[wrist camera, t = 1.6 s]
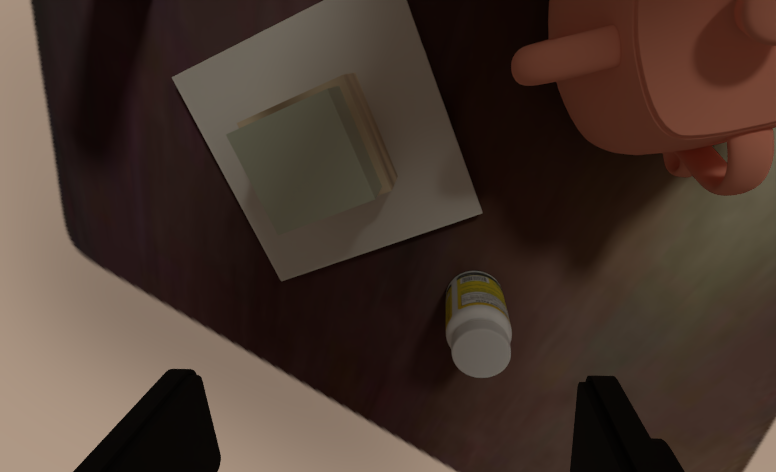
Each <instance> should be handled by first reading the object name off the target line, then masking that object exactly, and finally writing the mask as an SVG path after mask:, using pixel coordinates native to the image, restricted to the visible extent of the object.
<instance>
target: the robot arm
mask: <svg viewBox="0 0 776 472" xmlns="http://www.w3.org/2000/svg"><path fill="white" fill-rule="evenodd" d="M220 461H221V455H220V451H219V447H218V443H217V438H216V434H215V430H214V426H213V422H212V418H211V414H210V410H209V406H208V402H207V398H206V394H205V390H204V385H203V381H202V378H201V377H200V376H199V375H196V372H195V371H194V370H191V369H170V370H168V371H167V372H166V373H165V374H164V375H163V376H162V377H161V378H160V379H159V380H158V381H157V382H156V383H155V384H154V386H153V387H152V388H151V389H150V390H149V391H148V392H147V393H146V394H145V395H144V396H143V397H142V398H141V400H139V402H138V403H137V404H136V405H135V406H134V407H133V408H132V409H131V410H130V411H129V412H128V413H127V414H126V416H125V417H124V418H123V419H122V420H121V421H120V422H119V423H118V424H117V425H116V426H115V427H114V428H113V429H112V431H111V432H110V433H109V434H108V435H107V436H106V437H105V438H104V439H103V440H102V441H101V442H100V444H99V445H98V446H97V447H96V448H95V449H94V450H93V451H92V452H91V453H90V454H89V455H88V456H87V457H86V459H85V460H84V461H83V462H82V463H81V464H80V465H79V466H78V467H77V468H76V469H75V470H74V471H73V472H217V471H218V469H219V466H220ZM570 472H684V470H683V468H682V467H681V465H680V463H679V462H678V460H677V458H676V457H675V455H674V453H673V452H672V450H671V449H670V447H669V446H668V444H667V443H666V442H665V441H664V440H662V439H651V438H650V436H649V434H648V433H647V431H646V429H645V427H644V426H643V424H642V422H641V420H640V419H639V417H638V415H637V413H636V412H635V410H634V408H633V406H632V405H631V403H630V401H629V399H628V398H627V396H626V394H625V392H624V391H623V389H622V387H621V385H620V384H619V382H618V380H617V379H616V377H614V376H587V379H586V382H579V384H578V389H577V400H576V412H575V423H574V434H573V445H572V456H571V467H570Z"/></svg>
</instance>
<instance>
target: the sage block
mask: <svg viewBox="0 0 776 472" xmlns="http://www.w3.org/2000/svg"><path fill="white" fill-rule="evenodd" d="M226 136H227V138H228V140H229V142H230V144H231V146H232V148H233V150H234V152H235V153H236V155H237V157H238V159H239V161H240V163H241V165H242V167H243V169H244V171H245V173H246V175H247V177H248V178H249V180H250V182H251V184H252V186H253V188H254V190H255V192H256V194H257V196H258V198H259V200H260V202H261V203H262V205H263V207H264V209H265V211H266V213H267V215H268V217H269V219H270V221H271V223H272V225H273V227H274V228H275V230H276V232H277V234H278V235H281V234H283V233H286V232H289V231H292V230H294V229H297V228H300V227H302V226H305V225H308V224H311V223H313V222H316V221H319V220H321V219H324V218H327V217H329V216H332V215H335V214H338V213H340V212H343V211H346V210H348V209H351V208H354V207H357V206H359V205H362V204H365V203H367V202H370V201H373V200H375V199H376V197H377V196H378V194H379V192H380V190H381V188H382V185H381V183H380V180H379V178H378V176H377V173H376V171H375V169H374V166H373V164H372V162H371V159H370V157H369V154H368V152H367V150H366V147H365V145H364V143H363V140H362V138H361V136H360V133H359V131H358V129H357V126H356V124H355V122H354V119H353V117H352V115H351V112H350V110H349V107H348V105H347V103H346V100H345V98H344V96H343V93H342V91H341V89H340V86H336V87H332V88H328V89H326V90H323V91H321V92H319V93H317V94H314V95H312V96H310V97H308V98H306V99H303V100H301V101H299V102H297V103H294V104H292V105H290V106H288V107H286V108H283V109H281V110H279V111H277V112H275V113H272V114H270V115H268V116H266V117H263V118H261V119H259V120H257V121H255V122H252V123H250V124H248V125H246V126H243V127H241V128H239V129H237V130H235V131H232V132H230V133H228V134H226Z"/></svg>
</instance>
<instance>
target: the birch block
mask: <svg viewBox="0 0 776 472" xmlns="http://www.w3.org/2000/svg"><path fill="white" fill-rule="evenodd" d="M336 86H340V89H341V91H342V93H343V96H344V98H345V100H346V103H347V105H348V107H349V110H350V112H351V115H352V117H353V119H354V122H355V124H356V126H357V129H358V131H359V133H360V136H361V138H362V140H363V143H364V145H365V147H366V150H367V152H368V154H369V157H370V159H371V162H372V164H373V166H374V169H375V171H376V173H377V176H378V178H379V180H380V183H381V185H382V188H381V190H380V192H379V194H378V196H379V195H382V194H384V193H387V192H390V191H392V189H393V187H394V184H395V182H396V179H397V177H398V175H397V173H396V171H395V168H394V166H393V163H392V161H391V158H390V156H389V153H388V151H387V149H386V146H385V144H384V141H383V139H382V136H381V134H380V132H379V129H378V127H377V124H376V122H375V119H374V117H373V115H372V112H371V110H370V107H369V105H368V102H367V100H366V97H365V95H364V93H363V90H362V88H361V85H360V83H359V80H358V78H357V76H356V73H350V74H344V75H341V76H339V77H337V78H335V79H332V80H330V81H328V82H326V83H324V84H321V85H319V86H317V87H315V88H313V89H310V90H308V91H306V92H304V93H302V94H299V95H297V96H295V97H293V98H291V99H288V100H286V101H284V102H282V103H280V104H277V105H275V106H273V107H271V108H269V109H266V110H264V111H262V112H260V113H258V114H255V115H253V116H251V117H249V118H247V119H244V120H242V121H240V122H238V123H237V125H238V127H239V128H241V127H243V126H246V125H248V124H250V123H252V122H255V121H257V120H259V119H261V118H263V117H266V116H268V115H270V114H272V113H275V112H277V111H279V110H281V109H283V108H286V107H288V106H290V105H292V104H294V103H297V102H299V101H301V100H303V99H306V98H308V97H310V96H312V95H314V94H317V93H319V92H321V91H323V90H326V89H328V88H332V87H336Z"/></svg>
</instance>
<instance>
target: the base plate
mask: <svg viewBox="0 0 776 472" xmlns="http://www.w3.org/2000/svg"><path fill="white" fill-rule="evenodd" d="M350 73H356V76H357V78H358V80H359V83H360V85H361V88H362V90H363V93H364V95H365V97H366V100H367V102H368V105H369V107H370V110H371V112H372V115H373V117H374V119H375V122H376V124H377V127H378V129H379V132H380V134H381V136H382V139H383V141H384V144H385V146H386V149H387V151H388V153H389V156H390V158H391V161H392V163H393V166H394V168H395V171H396V173H397V175H398V177H397V179H396V182H395V184H394V187H393V189H392V191H390V192H387V193H384V194H382V195H379V196H377V197H376V199H375V200H373V201H370V202H367V203H365V204H362V205H359V206H357V207H354V208H351V209H348V210H346V211H343V212H340V213H338V214H335V215H332V216H329V217H327V218H324V219H321V220H319V221H316V222H313V223H311V224H308V225H305V226H302V227H300V228H297V229H294V230H292V231H289V232H286V233H283V234H281V235H278V234H277V232H276V230H275V228H274V227H273V225H272V223H271V221H270V219H269V217H268V215H267V213H266V211H265V209H264V207H263V205H262V203H261V202H260V200H259V198H258V196H257V194H256V192H255V190H254V188H253V186H252V184H251V182H250V180H249V178H248V177H247V175H246V173H245V171H244V169H243V167H242V165H241V163H240V161H239V159H238V157H237V155H236V153H235V152H234V150H233V148H232V146H231V144H230V142H229V140H228V138H227V136H226V134H228V133H230V132H232V131H235V130H237V129H239V127H238V125H237V123H238V122H240V121H242V120H244V119H247V118H249V117H251V116H253V115H255V114H258V113H260V112H262V111H264V110H266V109H269V108H271V107H273V106H275V105H277V104H280V103H282V102H284V101H286V100H288V99H291V98H293V97H295V96H297V95H299V94H302V93H304V92H306V91H308V90H310V89H313V88H315V87H317V86H319V85H321V84H324V83H326V82H328V81H330V80H332V79H335V78H337V77H339V76H341V75H344V74H350ZM172 79H173V81H174V83H175V85H176V87H177V88H178V90H179V92H180V94H181V96H182V98H183V100H184V102H185V103H186V105H187V107H188V109H189V111H190V113H191V115H192V116H193V118H194V120H195V122H196V124H197V126H198V128H199V129H200V131H201V133H202V135H203V137H204V139H205V141H206V143H207V144H208V146H209V148H210V150H211V152H212V154H213V156H214V157H215V159H216V161H217V163H218V165H219V167H220V169H221V170H222V172H223V174H224V176H225V178H226V180H227V182H228V184H229V185H230V187H231V189H232V191H233V193H234V195H235V197H236V198H237V200H238V202H239V204H240V206H241V208H242V210H243V211H244V213H245V215H246V217H247V219H248V221H249V223H250V225H251V226H252V228H253V230H254V232H255V234H256V236H257V238H258V239H259V241H260V243H261V245H262V247H263V249H264V251H265V252H266V254H267V256H268V258H269V260H270V262H271V264H272V266H273V267H274V269H275V271H276V273H277V275H278V277H279V279H280V280H281V281H284V280H287V279H290V278H293V277H296V276H299V275H302V274H305V273H308V272H311V271H314V270H317V269H320V268H323V267H326V266H329V265H332V264H334V263H337V262H340V261H343V260H346V259H349V258H352V257H355V256H358V255H361V254H364V253H367V252H370V251H373V250H376V249H379V248H382V247H385V246H388V245H391V244H394V243H396V242H399V241H402V240H405V239H408V238H411V237H414V236H417V235H420V234H423V233H426V232H429V231H432V230H435V229H438V228H441V227H444V226H447V225H450V224H453V223H455V222H458V221H461V220H464V219H467V218H470V217H473V216H476V215H479V214H482V213H483V212H482V208H481V206H480V203H479V200H478V197H477V194H476V192H475V189H474V186H473V183H472V180H471V178H470V175H469V172H468V169H467V167H466V164H465V161H464V158H463V155H462V153H461V150H460V147H459V144H458V141H457V139H456V136H455V133H454V130H453V128H452V125H451V122H450V119H449V116H448V114H447V111H446V108H445V105H444V102H443V100H442V97H441V94H440V91H439V88H438V86H437V83H436V80H435V77H434V75H433V72H432V69H431V66H430V63H429V61H428V58H427V55H426V52H425V49H424V47H423V44H422V41H421V38H420V35H419V33H418V30H417V27H416V24H415V22H414V19H413V16H412V13H411V10H410V8H409V5H408V2H407V0H323V1H321V2H320V3H318V4H316V5H314V6H312V7H310V8H308V9H306V10H304V11H302V12H300V13H298V14H296V15H294V16H292V17H290V18H288V19H286V20H284V21H282V22H280V23H278V24H276V25H274V26H272V27H270V28H268V29H266V30H264V31H262V32H260V33H258V34H256V35H255V36H253V37H251V38H249V39H247V40H245V41H243V42H241V43H239V44H237V45H235V46H233V47H231V48H229V49H227V50H225V51H223V52H221V53H219V54H217V55H215V56H213V57H211V58H209V59H207V60H205V61H203V62H201V63H199V64H197V65H195V66H193V67H191V68H190V69H188V70H186V71H184V72H182V73H180V74H178V75H176V76H174V77H172Z"/></svg>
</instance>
